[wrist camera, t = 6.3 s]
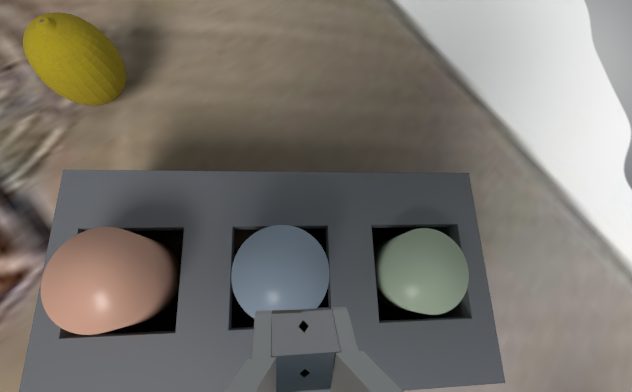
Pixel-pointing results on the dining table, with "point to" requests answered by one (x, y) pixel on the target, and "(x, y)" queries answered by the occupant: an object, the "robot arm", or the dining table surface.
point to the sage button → (421, 272)
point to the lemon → (74, 58)
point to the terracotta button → (108, 281)
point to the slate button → (280, 271)
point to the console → (216, 265)
